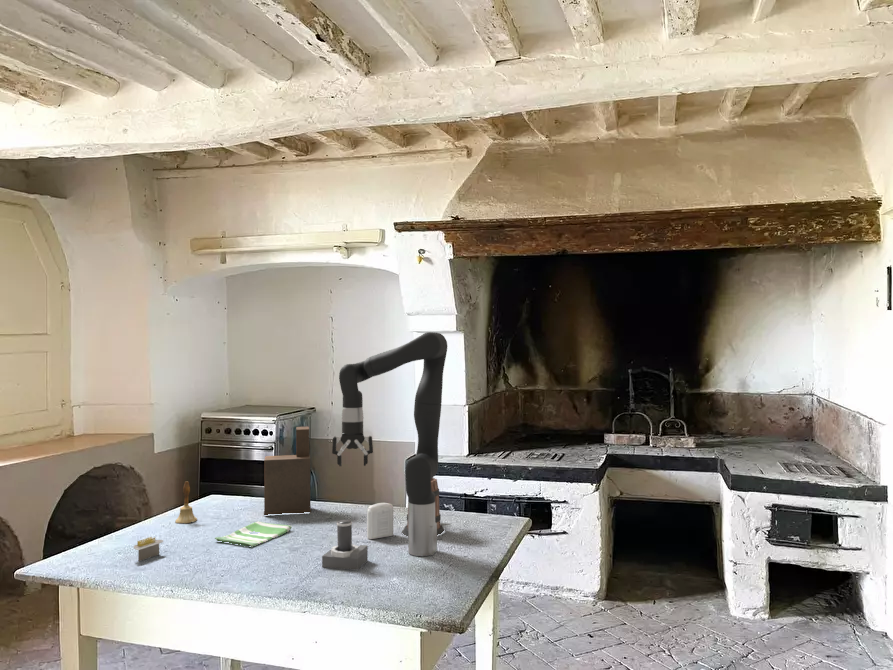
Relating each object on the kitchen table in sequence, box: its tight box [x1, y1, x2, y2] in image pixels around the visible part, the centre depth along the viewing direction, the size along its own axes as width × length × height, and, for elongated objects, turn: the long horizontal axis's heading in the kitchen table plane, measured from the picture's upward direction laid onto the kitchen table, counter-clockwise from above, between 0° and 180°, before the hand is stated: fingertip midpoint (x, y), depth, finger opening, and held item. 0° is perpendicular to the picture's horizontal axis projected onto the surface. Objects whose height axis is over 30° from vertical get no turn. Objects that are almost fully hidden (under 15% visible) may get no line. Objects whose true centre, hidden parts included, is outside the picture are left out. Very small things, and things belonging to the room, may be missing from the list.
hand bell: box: [175, 481, 198, 525], centre depth 264 cm, size 8×8×16 cm
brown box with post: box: [263, 426, 312, 516], centre depth 279 cm, size 19×14×35 cm
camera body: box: [321, 544, 369, 571], centre depth 211 cm, size 12×9×5 cm
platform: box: [133, 536, 164, 562], centre depth 218 cm, size 12×18×7 cm, turn 153°
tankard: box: [401, 477, 445, 537], centre depth 250 cm, size 24×17×20 cm
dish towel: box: [214, 521, 293, 548], centre depth 242 cm, size 18×23×3 cm
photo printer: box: [366, 502, 394, 540], centre depth 241 cm, size 10×4×12 cm, turn 123°
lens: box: [336, 519, 353, 552], centre depth 211 cm, size 5×5×10 cm
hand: (352, 465), depth 231 cm, fingers open, 8 cm apart
